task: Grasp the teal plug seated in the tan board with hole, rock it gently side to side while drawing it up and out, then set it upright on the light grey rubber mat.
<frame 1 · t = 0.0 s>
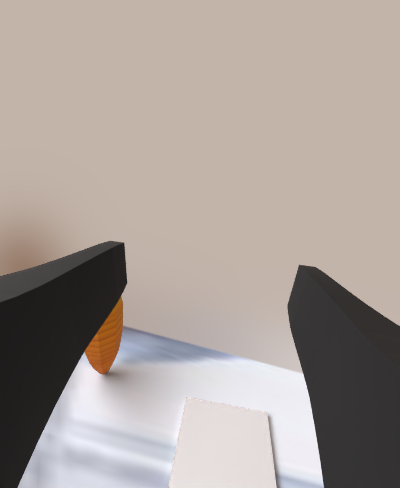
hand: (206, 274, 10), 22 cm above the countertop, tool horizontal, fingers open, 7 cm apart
carrot: (104, 374, 30), on the countertop
mat: (224, 452, 23), on the countertop
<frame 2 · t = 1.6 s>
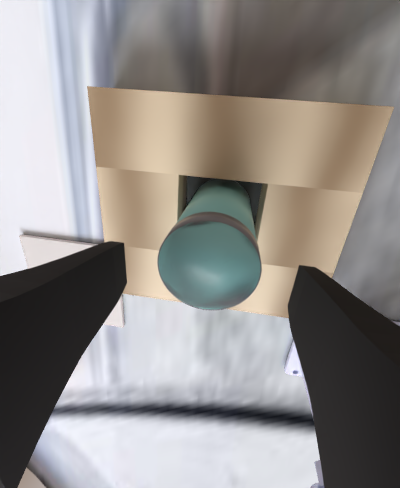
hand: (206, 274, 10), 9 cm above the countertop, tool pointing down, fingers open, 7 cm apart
plug: (216, 229, 15), in the tan board with hole
tan board with hole: (221, 207, 19), on the countertop
mat: (76, 282, 24), on the countertop
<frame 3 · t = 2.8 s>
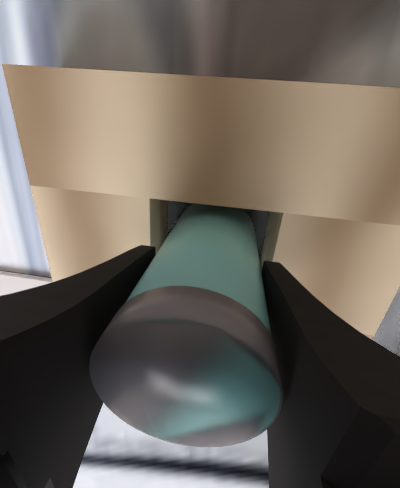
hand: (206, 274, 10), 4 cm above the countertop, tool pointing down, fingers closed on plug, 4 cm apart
plug: (205, 282, 10), in the tan board with hole, touching gripper
tan board with hole: (214, 236, 14), on the countertop
mat: (34, 323, 19), on the countertop
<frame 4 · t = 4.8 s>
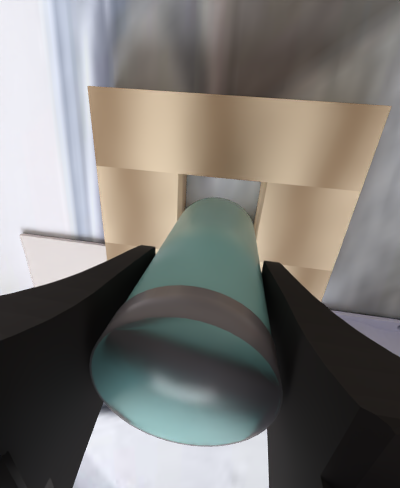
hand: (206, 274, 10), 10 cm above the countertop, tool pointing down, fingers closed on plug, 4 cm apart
plug: (205, 281, 10), point 10 cm above the countertop, touching gripper
tan board with hole: (220, 206, 19), on the countertop
mat: (77, 281, 24), on the countertop
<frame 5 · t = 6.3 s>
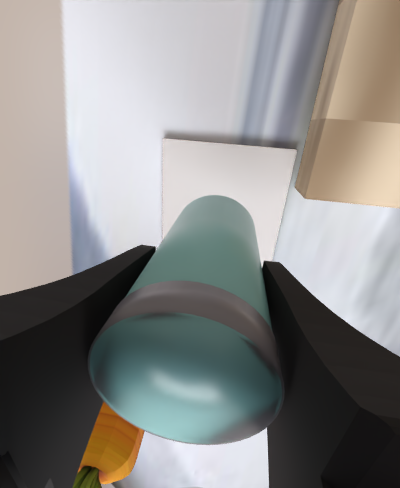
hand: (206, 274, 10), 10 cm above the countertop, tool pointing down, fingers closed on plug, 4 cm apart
plug: (205, 279, 10), point 10 cm above the countertop, touching gripper
carrot: (149, 336, 26), on the countertop
mat: (221, 207, 19), on the countertop
when the fingers open (6 cm above the countertop, at t = 7.3 s): plug drops 2 cm, resting on mat.
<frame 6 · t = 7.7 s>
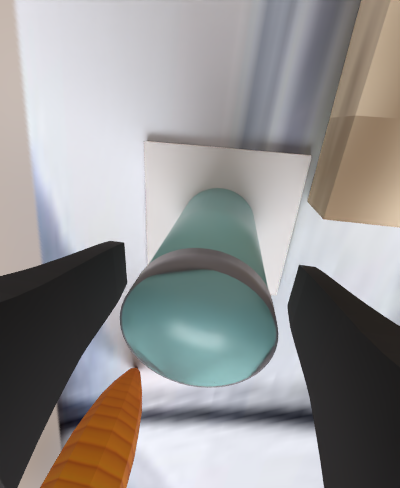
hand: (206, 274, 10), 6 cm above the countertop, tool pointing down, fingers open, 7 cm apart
plug: (210, 259, 11), on the mat
carrot: (136, 366, 23), on the countertop
mat: (217, 224, 16), on the countertop
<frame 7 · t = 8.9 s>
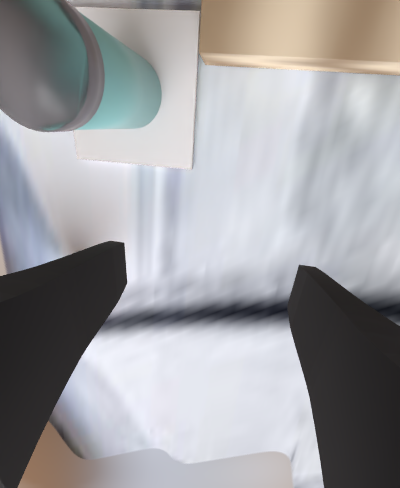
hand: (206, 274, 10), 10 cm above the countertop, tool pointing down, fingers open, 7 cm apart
plug: (95, 82, 13), on the mat
mat: (132, 96, 17), on the countertop
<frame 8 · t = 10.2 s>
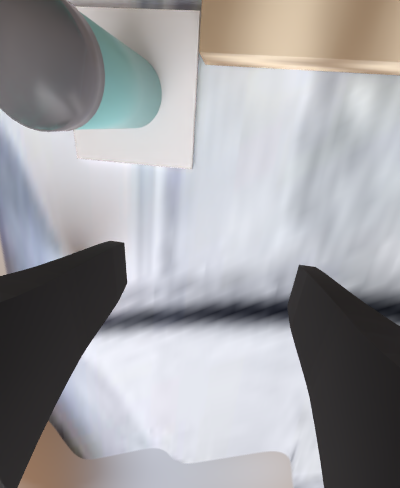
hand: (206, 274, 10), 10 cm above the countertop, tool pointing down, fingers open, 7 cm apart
plug: (95, 81, 13), on the mat
mat: (132, 95, 17), on the countertop
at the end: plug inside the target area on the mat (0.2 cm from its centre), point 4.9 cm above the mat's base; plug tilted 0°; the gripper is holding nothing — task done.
